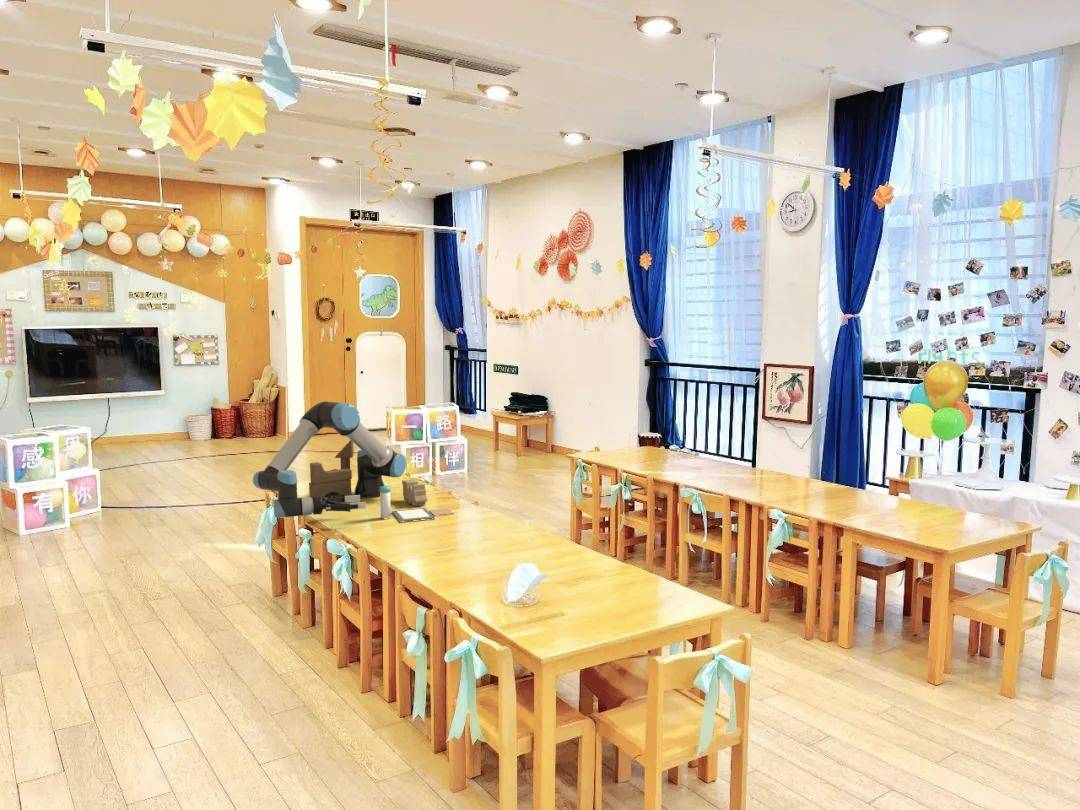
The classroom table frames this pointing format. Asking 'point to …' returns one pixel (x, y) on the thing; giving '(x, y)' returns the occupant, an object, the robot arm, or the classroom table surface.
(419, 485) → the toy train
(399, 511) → the writing board
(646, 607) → the classroom table surface
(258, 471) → the robot arm
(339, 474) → the wooden blocks
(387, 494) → the white bottle
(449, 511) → the coaster
